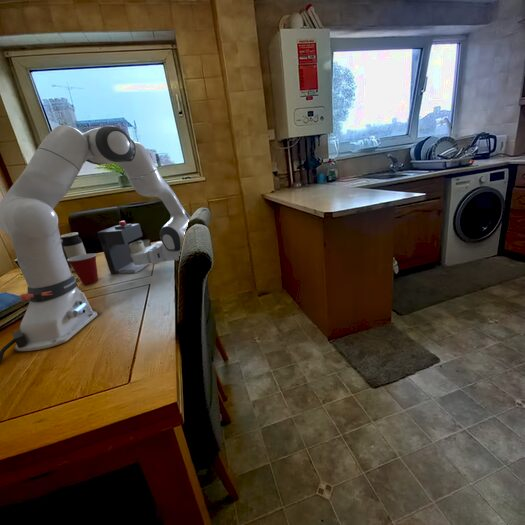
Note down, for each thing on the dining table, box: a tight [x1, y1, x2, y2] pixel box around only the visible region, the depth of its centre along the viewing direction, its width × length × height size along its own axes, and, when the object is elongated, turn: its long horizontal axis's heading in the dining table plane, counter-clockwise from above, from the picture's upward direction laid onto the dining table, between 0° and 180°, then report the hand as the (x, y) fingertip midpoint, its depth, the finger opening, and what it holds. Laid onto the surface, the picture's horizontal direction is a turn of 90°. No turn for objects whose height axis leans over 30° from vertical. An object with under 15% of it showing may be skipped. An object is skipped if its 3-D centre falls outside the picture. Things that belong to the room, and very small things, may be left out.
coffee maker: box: [97, 223, 149, 276], centre depth 128 cm, size 13×12×21 cm
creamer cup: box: [128, 241, 145, 265], centre depth 127 cm, size 6×6×10 cm
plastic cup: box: [67, 253, 99, 286], centre depth 119 cm, size 11×11×12 cm
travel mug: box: [60, 232, 87, 272], centre depth 137 cm, size 8×8×18 cm
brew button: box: [118, 220, 127, 226], centre depth 123 cm, size 2×2×2 cm
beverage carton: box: [129, 239, 152, 248], centre depth 151 cm, size 8×19×7 cm, turn 6°
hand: (136, 252), depth 127 cm, fingers closed on creamer cup, 6 cm apart
